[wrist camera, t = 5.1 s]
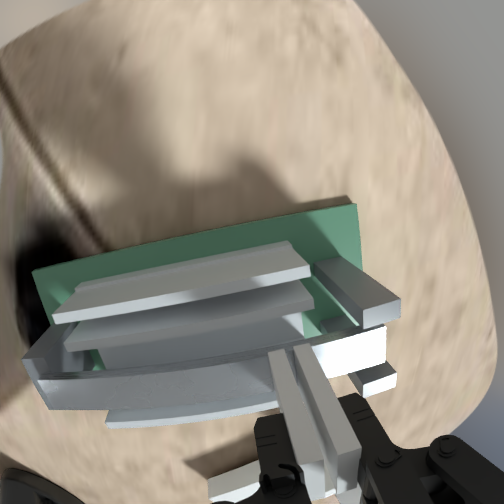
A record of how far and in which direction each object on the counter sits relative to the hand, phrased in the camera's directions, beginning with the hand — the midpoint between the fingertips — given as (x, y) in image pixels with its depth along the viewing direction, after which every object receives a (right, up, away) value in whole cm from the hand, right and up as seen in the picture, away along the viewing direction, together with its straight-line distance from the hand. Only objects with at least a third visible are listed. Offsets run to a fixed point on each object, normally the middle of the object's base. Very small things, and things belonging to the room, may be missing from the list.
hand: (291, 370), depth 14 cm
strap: (-5, -1, +1) cm, 5 cm away
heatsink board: (-5, +1, +7) cm, 9 cm away
